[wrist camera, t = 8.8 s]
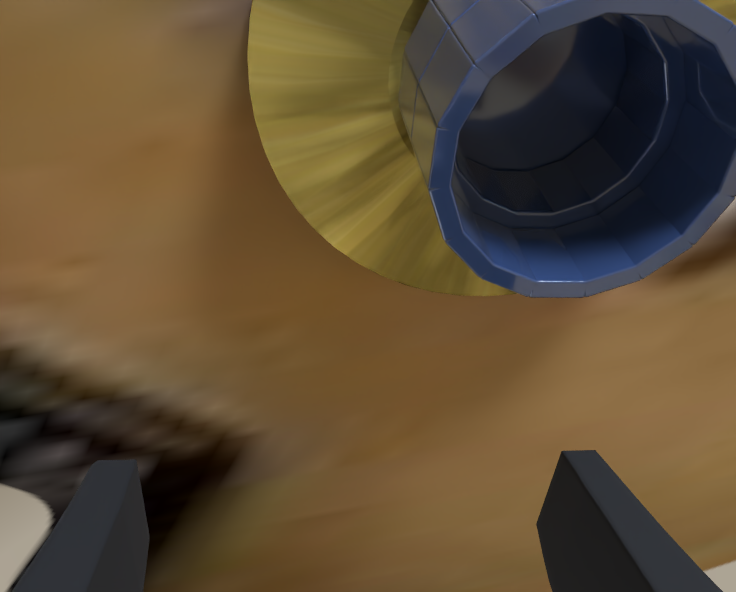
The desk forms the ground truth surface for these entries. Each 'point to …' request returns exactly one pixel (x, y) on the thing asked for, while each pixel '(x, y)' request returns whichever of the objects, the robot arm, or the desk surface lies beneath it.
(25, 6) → the desk surface
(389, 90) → the gold flat disc
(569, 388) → the desk surface
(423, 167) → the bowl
